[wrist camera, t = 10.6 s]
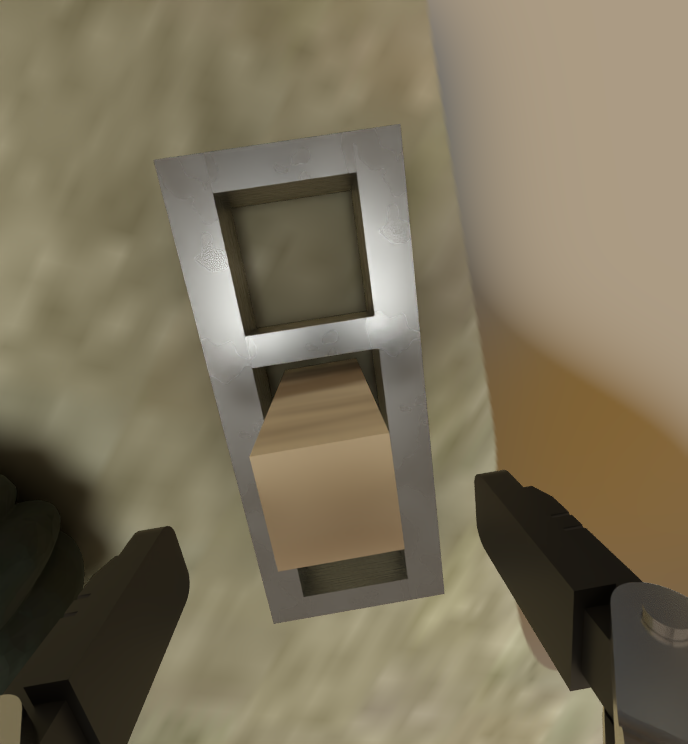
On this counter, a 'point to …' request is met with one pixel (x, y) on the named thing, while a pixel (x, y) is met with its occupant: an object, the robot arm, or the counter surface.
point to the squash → (32, 577)
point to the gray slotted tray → (313, 341)
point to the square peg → (326, 469)
